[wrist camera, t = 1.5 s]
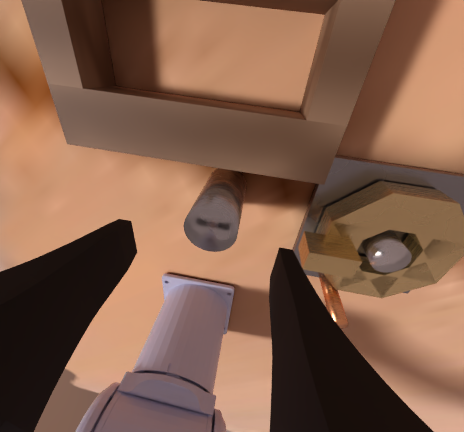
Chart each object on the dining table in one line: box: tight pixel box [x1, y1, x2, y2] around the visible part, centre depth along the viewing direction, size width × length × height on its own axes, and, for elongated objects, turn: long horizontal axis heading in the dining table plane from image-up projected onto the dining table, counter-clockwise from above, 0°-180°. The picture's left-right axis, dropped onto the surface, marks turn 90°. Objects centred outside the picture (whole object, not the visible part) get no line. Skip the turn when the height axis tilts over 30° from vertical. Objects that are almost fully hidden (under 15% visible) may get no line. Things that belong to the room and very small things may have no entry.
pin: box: [184, 168, 247, 252], centre depth 14 cm, size 3×3×6 cm
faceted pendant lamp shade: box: [298, 181, 464, 298], centre depth 15 cm, size 9×10×4 cm
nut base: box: [293, 155, 464, 329], centre depth 15 cm, size 12×11×5 cm
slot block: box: [22, 0, 396, 185], centre depth 11 cm, size 11×16×3 cm
